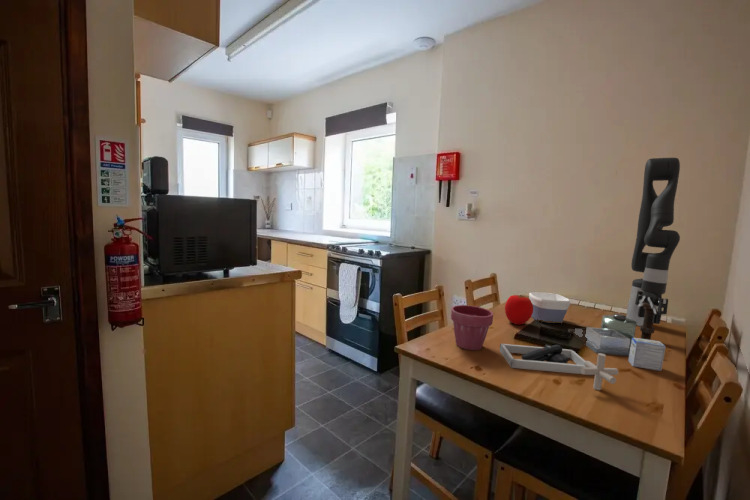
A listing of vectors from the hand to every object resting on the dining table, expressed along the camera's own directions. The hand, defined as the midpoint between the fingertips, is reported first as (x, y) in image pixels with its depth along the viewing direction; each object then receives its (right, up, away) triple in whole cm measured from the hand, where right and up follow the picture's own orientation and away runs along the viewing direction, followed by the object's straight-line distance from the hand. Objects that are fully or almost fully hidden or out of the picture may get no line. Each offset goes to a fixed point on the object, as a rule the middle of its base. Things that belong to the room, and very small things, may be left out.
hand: (648, 320), depth 139 cm
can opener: (-55, -9, -26) cm, 62 cm away
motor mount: (-19, -8, -5) cm, 21 cm away
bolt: (0, -9, +1) cm, 9 cm away
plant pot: (-76, -6, -15) cm, 77 cm away
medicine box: (-20, -11, -24) cm, 33 cm away
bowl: (-31, -4, +20) cm, 37 cm away
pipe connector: (-47, -11, -41) cm, 63 cm away
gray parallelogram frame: (-54, -8, -26) cm, 61 cm away
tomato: (-47, -4, +13) cm, 49 cm away
